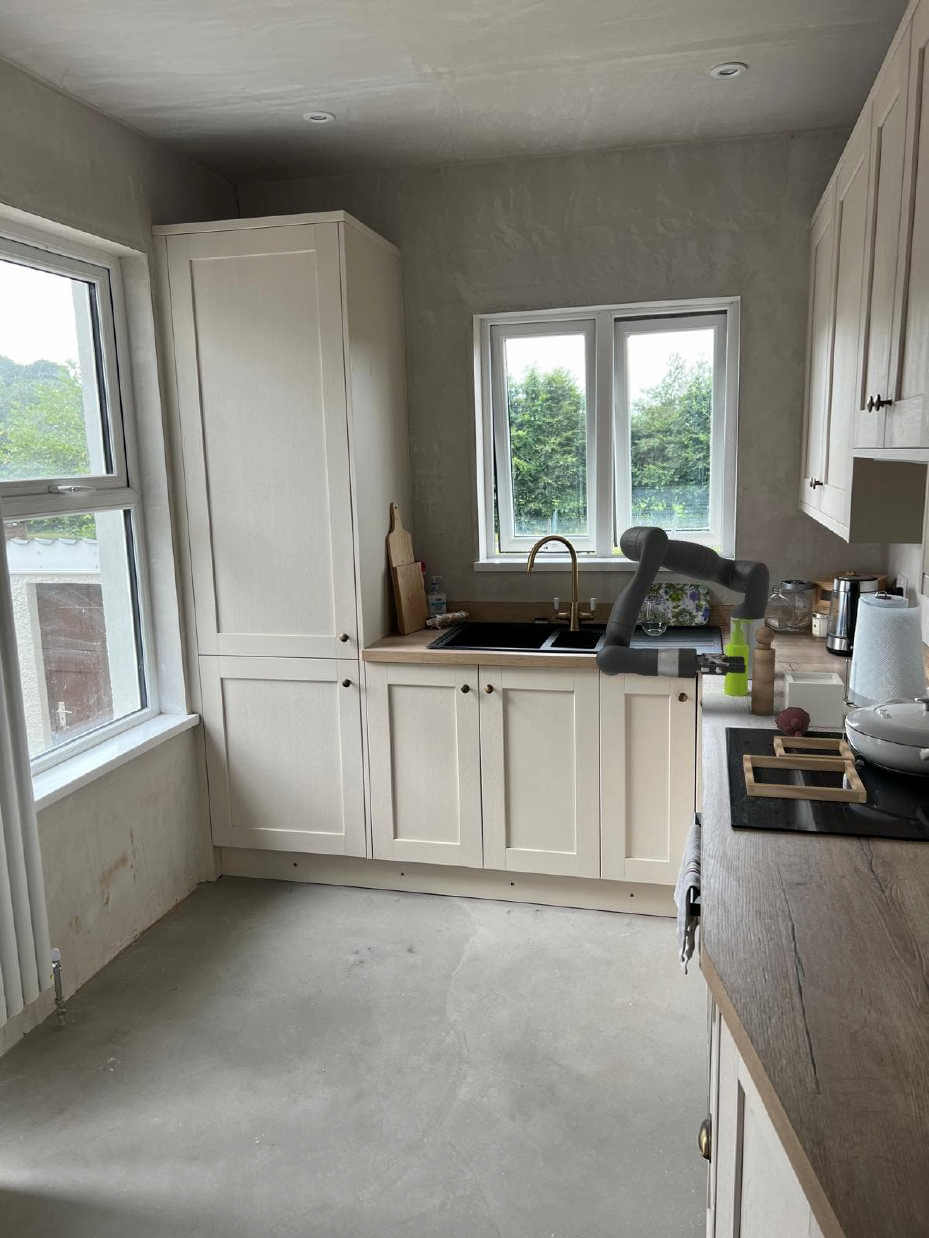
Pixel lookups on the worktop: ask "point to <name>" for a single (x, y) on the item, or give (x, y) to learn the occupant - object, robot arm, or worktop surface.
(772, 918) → the worktop surface
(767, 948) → the worktop surface
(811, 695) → the plinth
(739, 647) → the soap dispenser
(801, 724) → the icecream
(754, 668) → the pepper mill
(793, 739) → the frame
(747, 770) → the frame
